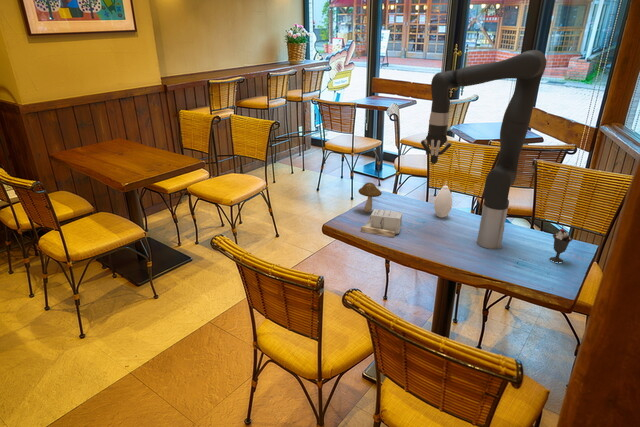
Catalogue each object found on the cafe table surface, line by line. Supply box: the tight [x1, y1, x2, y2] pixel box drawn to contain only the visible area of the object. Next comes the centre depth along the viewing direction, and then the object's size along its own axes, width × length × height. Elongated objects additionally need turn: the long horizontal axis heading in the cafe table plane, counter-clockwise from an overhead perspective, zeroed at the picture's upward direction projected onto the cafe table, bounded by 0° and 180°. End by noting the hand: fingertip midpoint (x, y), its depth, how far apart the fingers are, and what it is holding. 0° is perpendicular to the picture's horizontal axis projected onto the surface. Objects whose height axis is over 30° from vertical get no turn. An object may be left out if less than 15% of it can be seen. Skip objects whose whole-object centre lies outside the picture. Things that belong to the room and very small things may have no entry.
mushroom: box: [358, 182, 383, 213], centre depth 204 cm, size 9×11×15 cm
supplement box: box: [370, 208, 403, 234], centre depth 188 cm, size 7×7×13 cm
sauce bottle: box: [433, 180, 453, 219], centre depth 199 cm, size 8×8×18 cm
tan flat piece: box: [360, 214, 403, 238], centre depth 191 cm, size 14×14×2 cm
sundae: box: [549, 223, 574, 263], centre depth 163 cm, size 7×7×15 cm
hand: (433, 163), depth 183 cm, fingers closed
